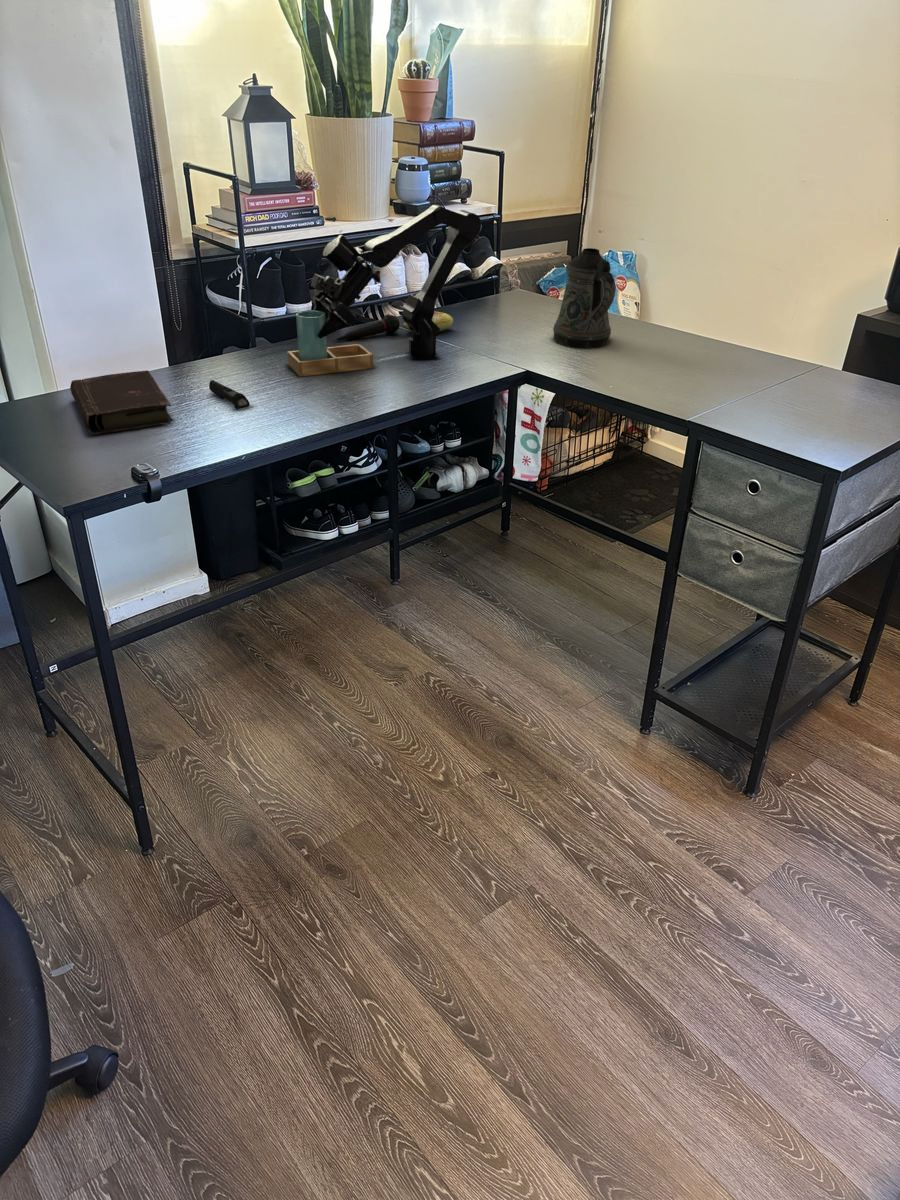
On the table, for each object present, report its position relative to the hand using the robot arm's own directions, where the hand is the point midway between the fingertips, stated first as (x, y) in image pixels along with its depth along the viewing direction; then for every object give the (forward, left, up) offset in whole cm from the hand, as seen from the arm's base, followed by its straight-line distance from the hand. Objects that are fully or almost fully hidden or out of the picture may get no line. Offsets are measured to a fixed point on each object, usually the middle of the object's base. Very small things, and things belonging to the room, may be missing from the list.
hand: (313, 332), depth 225 cm
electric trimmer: (+22, +22, -9) cm, 32 cm away
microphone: (-18, -28, -9) cm, 35 cm away
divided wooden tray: (-4, -1, -9) cm, 10 cm away
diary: (+45, +26, -9) cm, 53 cm away
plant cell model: (-36, -31, -6) cm, 47 cm away
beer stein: (-79, -13, -9) cm, 80 cm away
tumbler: (0, 0, -8) cm, 8 cm away
